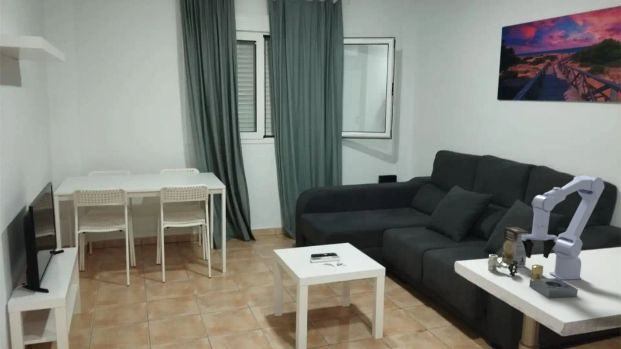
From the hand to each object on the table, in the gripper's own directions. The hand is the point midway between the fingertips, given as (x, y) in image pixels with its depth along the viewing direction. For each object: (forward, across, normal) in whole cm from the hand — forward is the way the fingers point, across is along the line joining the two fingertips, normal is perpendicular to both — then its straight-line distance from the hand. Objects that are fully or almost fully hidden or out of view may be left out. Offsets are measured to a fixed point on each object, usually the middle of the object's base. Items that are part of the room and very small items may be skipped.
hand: (536, 257), depth 207 cm
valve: (+10, -9, +11) cm, 17 cm away
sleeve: (+10, +6, +6) cm, 13 cm away
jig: (+10, 0, -12) cm, 15 cm away
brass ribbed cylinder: (+10, +1, 0) cm, 10 cm away
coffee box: (+10, +3, +21) cm, 24 cm away
